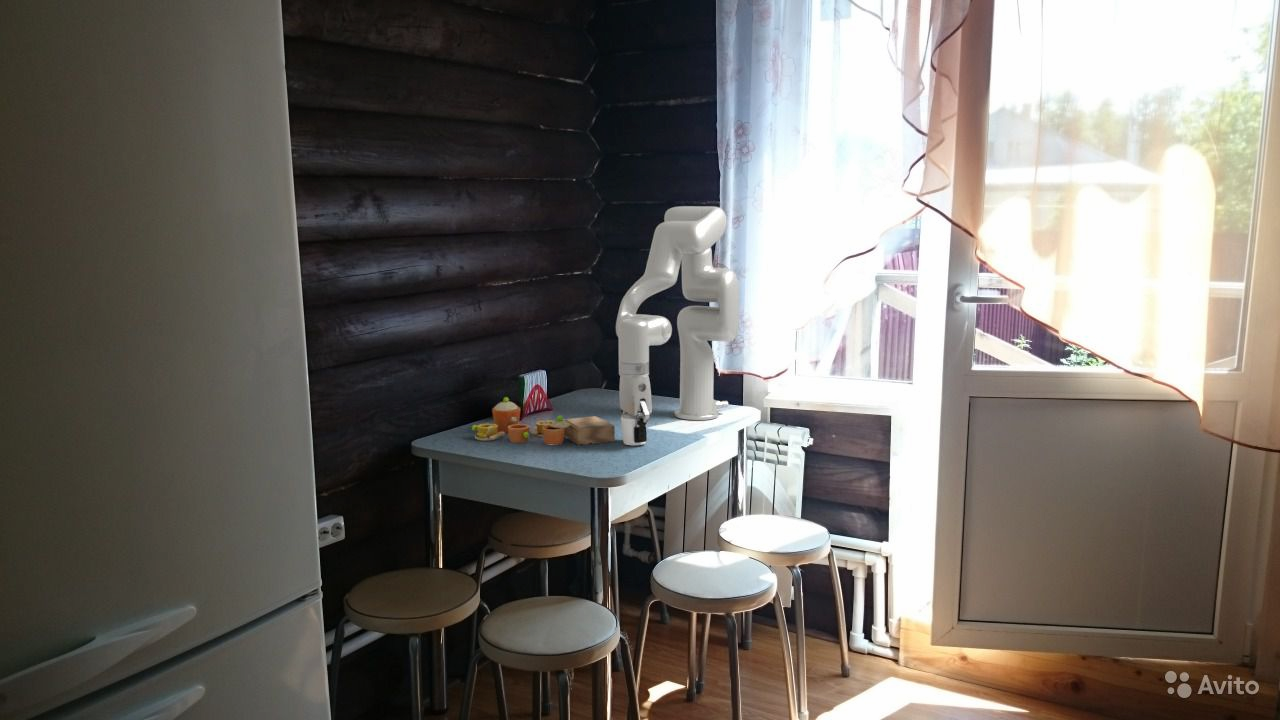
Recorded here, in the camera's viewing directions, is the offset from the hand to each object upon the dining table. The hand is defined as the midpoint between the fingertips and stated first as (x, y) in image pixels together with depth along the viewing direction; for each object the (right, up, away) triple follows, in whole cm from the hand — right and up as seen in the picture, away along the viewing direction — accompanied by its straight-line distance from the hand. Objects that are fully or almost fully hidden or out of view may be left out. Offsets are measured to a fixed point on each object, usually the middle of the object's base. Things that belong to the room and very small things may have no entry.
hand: (634, 438), depth 231 cm
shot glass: (0, -1, 0) cm, 1 cm away
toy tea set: (-28, -1, +7) cm, 29 cm away
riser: (-12, 0, +6) cm, 14 cm away
